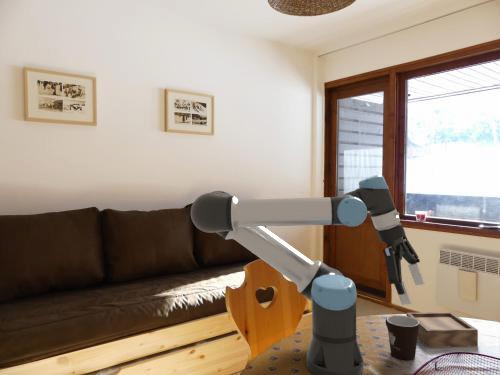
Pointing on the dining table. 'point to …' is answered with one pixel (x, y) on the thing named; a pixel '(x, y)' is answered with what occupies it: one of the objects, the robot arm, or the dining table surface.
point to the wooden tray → (444, 330)
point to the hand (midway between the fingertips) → (413, 293)
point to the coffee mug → (402, 336)
